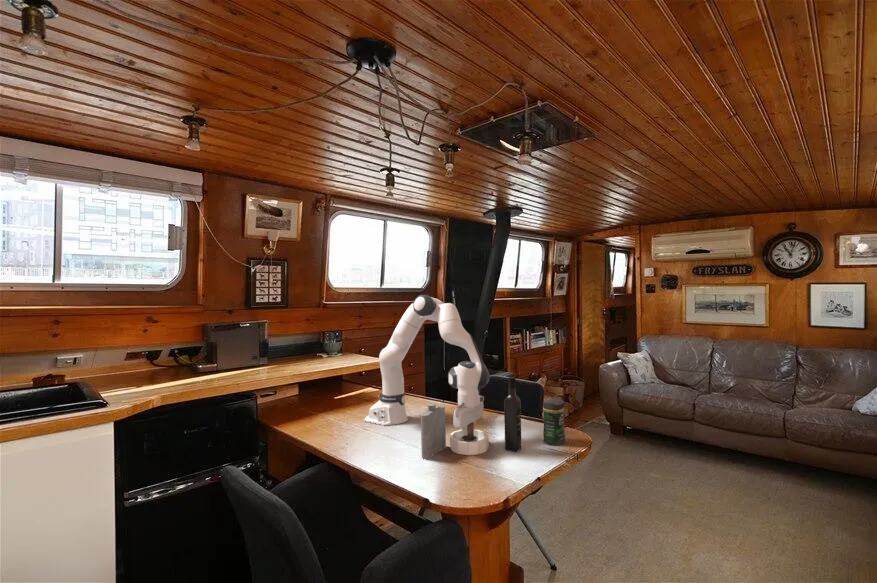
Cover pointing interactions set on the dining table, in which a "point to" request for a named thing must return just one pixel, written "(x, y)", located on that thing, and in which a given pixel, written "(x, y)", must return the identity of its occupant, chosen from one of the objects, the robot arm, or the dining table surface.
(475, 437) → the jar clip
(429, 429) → the hip flask
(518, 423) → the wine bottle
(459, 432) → the white ring base
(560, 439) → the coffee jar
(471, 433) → the walnut peg
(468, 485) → the dining table surface
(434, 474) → the dining table surface
